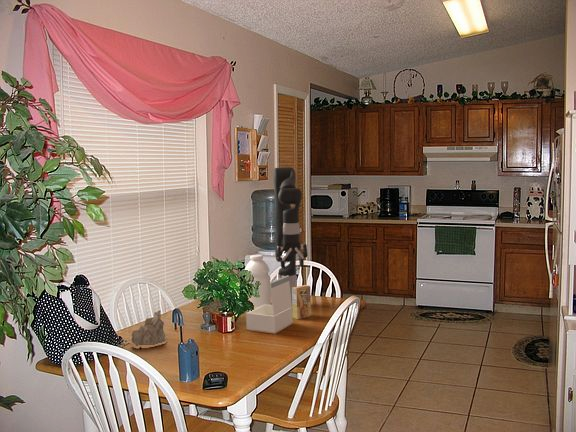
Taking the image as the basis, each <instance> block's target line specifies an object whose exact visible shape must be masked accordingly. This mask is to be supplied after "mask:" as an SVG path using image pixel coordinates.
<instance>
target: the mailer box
mask: <svg viewBox="0 0 576 432" xmlns="http://www.w3.org/2000/svg"><path fill="white" fill-rule="evenodd" d="M245 316H246V317H245V321H246V325H245V326H246V331H252V332H260V333H265V334H266V333H268V334H273V335H276V334H277V333H280V331H283V330H284V329H286V328H288V327H290V326H291V325H293V321H294V320H293V312H292V307H290V308H288V309H286V310H285V311H283V312H281V313H279V314H277V315H275V316H273V308H272V304H271V305H266V304H264V305H262V306H260V307H258V308H256V309H254V310H252V311H251V310H248V311H247V312H245Z"/></svg>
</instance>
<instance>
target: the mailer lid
mask: <svg viewBox="0 0 576 432" xmlns="http://www.w3.org/2000/svg"><path fill="white" fill-rule="evenodd" d="M270 290H271V305H272V308H273V316H275V315H277V314H279V313H281V312H283V311H285V310H286V309H288V308H290V307H292V302H291V293H290V284H289V275H287V276H285V277H283V278H280V279H279V278H278V279H276V280H273V281H270Z"/></svg>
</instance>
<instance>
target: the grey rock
mask: <svg viewBox="0 0 576 432" xmlns="http://www.w3.org/2000/svg"><path fill="white" fill-rule="evenodd" d="M161 318H162V314H161V310H160V309H159V310H157V311H155V312H154V315H153V317H147V318H146V319H145V322H144V325H143V324H142V323H141V324H140V326H139V328H138V329H137V330H133V331H132V333H131V342H132V343H134V344H135V345H136V346H138V345H155V344H158V343H162V342H165V341H166V340H168V338H167V337H166V332H165V331H164V325H165V322H164V321H163V320H162V319H161Z"/></svg>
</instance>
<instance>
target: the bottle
mask: <svg viewBox="0 0 576 432" xmlns="http://www.w3.org/2000/svg"><path fill="white" fill-rule="evenodd" d="M249 259H250V260H249V261H248V262H247V263H246V265H245V268H244V270H248V271H251V272H252V275H253V277H254V281H253V283H254V284H255V283H256V281H260V283H261V285H260V287H259V289H258V290H259V295H260V297H259V298H256V297H254V296H252V297H251V298H249V300H250V301H251V302H252V303H253V305H254V309H256V308H258V307H260V306H262V305H264V304H266V305H272V299H271V290H270V282H271V276H270V275H269V272H270V268H269V266H268V264H267V263H266V262H265V260H263V259H264V256H263V255H262V254H252V255H251V254H250V256H249Z"/></svg>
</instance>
